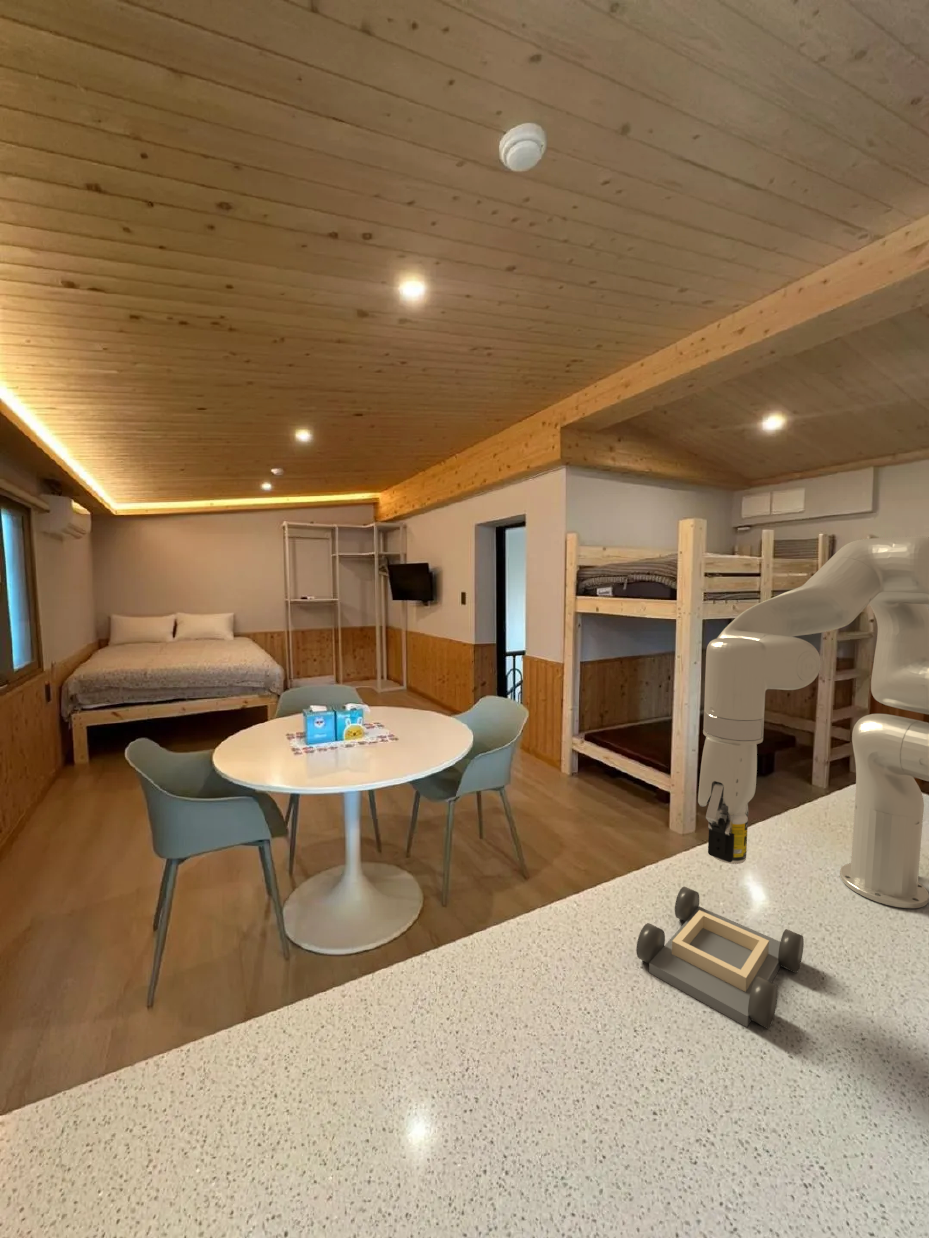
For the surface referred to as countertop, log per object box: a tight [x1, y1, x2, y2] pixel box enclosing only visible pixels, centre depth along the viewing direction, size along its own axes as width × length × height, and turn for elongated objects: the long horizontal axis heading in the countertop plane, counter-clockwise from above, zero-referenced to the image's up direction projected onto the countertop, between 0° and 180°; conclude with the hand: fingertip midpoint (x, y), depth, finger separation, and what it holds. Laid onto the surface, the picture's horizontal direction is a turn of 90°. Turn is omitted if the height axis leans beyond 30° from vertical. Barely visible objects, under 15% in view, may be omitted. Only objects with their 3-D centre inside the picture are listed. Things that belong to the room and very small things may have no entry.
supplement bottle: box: [713, 805, 749, 865], centre depth 76 cm, size 5×5×8 cm
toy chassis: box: [635, 886, 805, 1029], centre depth 78 cm, size 18×17×5 cm
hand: (727, 849), depth 76 cm, fingers closed on supplement bottle, 4 cm apart
